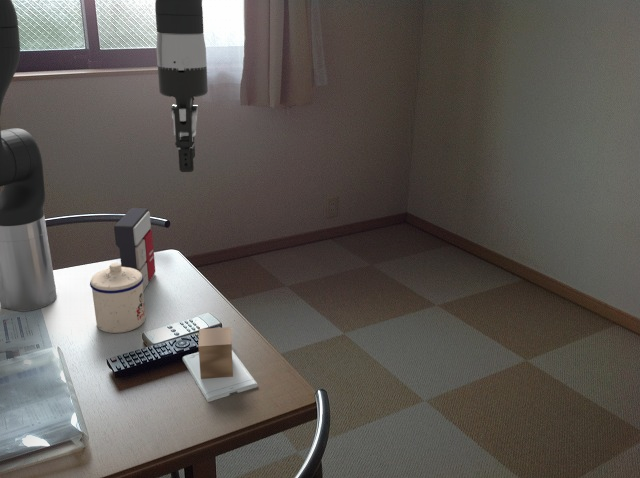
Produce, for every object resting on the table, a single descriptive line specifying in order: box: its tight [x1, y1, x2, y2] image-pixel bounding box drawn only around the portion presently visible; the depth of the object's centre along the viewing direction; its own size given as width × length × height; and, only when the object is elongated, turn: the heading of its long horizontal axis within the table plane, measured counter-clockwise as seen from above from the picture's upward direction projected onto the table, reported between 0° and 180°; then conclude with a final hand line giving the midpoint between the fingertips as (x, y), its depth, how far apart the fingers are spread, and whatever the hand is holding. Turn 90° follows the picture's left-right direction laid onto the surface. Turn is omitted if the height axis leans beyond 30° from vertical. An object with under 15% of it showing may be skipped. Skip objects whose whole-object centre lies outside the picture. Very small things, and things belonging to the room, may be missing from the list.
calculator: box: [113, 207, 156, 292], centre depth 120 cm, size 11×4×15 cm, turn 179°
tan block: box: [198, 326, 233, 379], centre depth 93 cm, size 5×5×6 cm
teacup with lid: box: [89, 262, 146, 334], centre depth 108 cm, size 12×9×12 cm
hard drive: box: [182, 349, 259, 403], centre depth 95 cm, size 2×8×12 cm
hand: (187, 164), depth 98 cm, fingers open, 8 cm apart
